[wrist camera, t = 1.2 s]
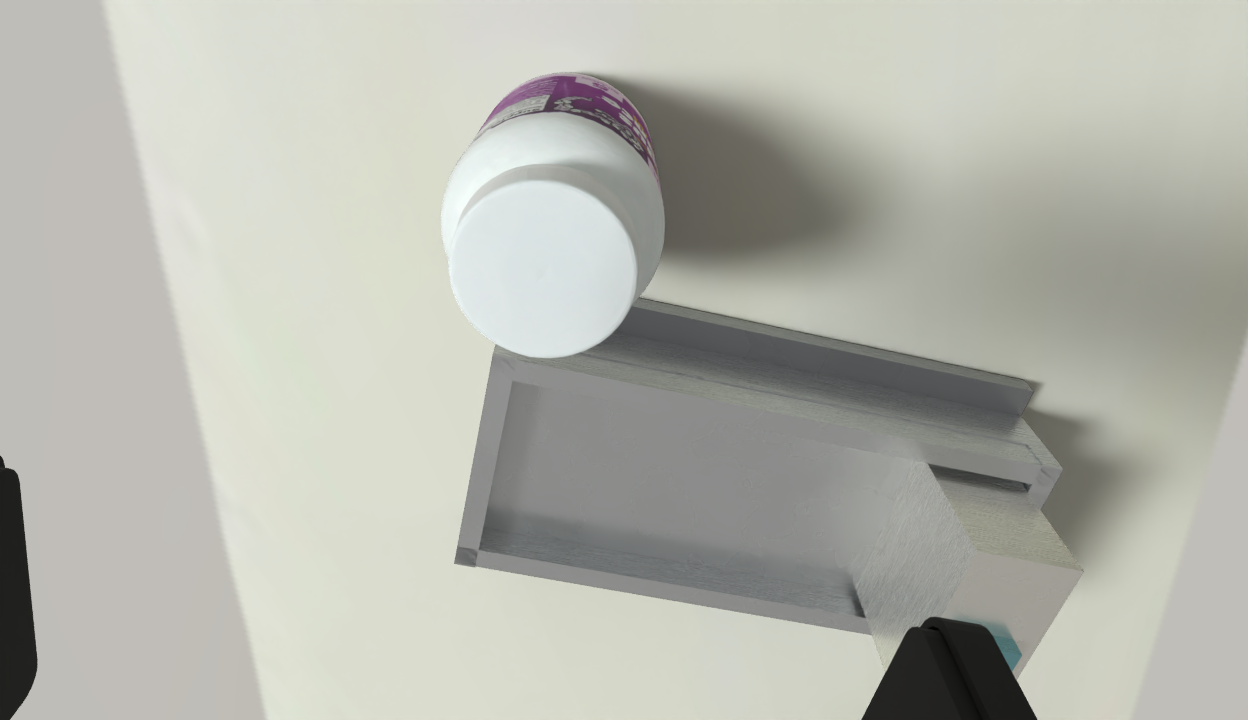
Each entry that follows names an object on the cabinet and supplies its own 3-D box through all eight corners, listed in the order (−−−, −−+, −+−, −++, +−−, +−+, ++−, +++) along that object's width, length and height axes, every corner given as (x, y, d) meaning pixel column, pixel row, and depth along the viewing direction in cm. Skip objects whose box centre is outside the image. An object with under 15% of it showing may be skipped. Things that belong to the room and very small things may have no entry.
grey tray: (513, 271, 28) (476, 401, 21) (1023, 380, 30) (1158, 534, 23) (468, 512, 32) (423, 691, 25) (914, 593, 34) (997, 781, 27)
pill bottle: (690, 172, 27) (726, 296, 18) (559, 273, 28) (534, 432, 19) (578, 27, 25) (558, 88, 16) (443, 143, 26) (359, 256, 18)
